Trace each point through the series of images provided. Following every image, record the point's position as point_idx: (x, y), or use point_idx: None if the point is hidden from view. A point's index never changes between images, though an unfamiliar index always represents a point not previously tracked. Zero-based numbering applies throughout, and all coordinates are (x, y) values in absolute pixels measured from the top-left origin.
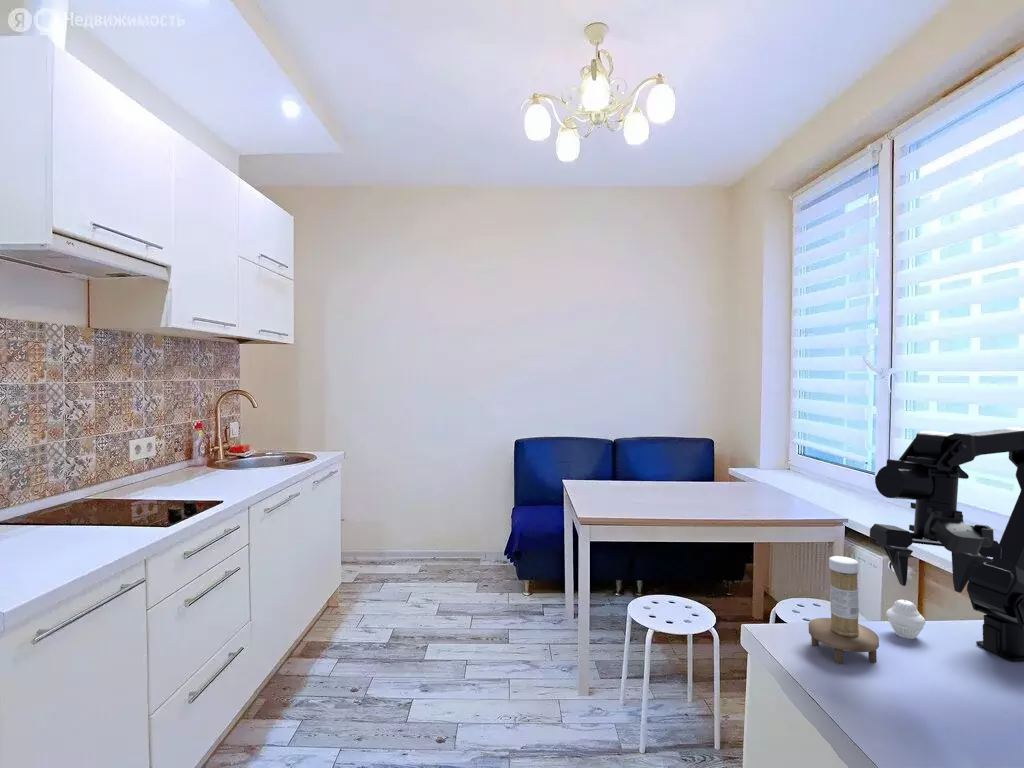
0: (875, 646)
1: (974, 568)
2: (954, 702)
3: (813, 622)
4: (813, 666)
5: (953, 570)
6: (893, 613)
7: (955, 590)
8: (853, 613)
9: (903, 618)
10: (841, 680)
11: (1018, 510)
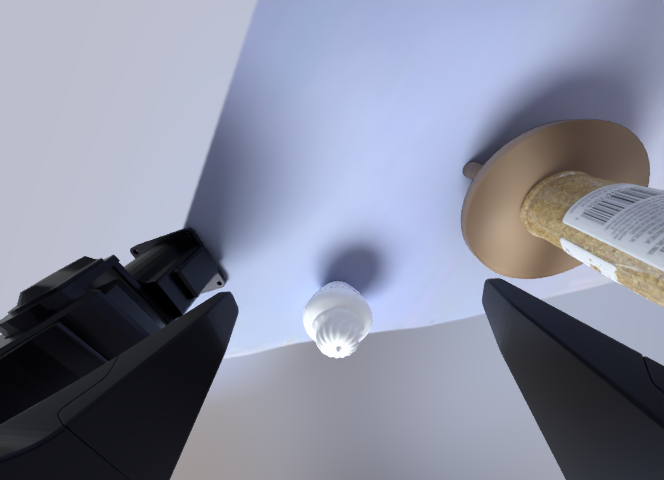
0: (507, 148)
1: (35, 410)
2: None
3: None
4: (643, 102)
5: (192, 414)
6: (366, 319)
7: (236, 307)
8: (626, 190)
9: (354, 303)
10: (625, 34)
11: None
